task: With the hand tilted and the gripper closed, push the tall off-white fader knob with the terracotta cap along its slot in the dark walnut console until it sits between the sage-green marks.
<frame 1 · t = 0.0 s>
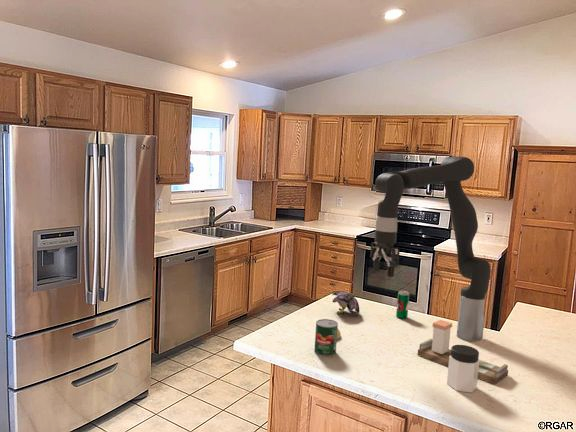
hand: (382, 273, 162), 29 cm above the counter, tool pointing down, fingers open, 8 cm apart
bread roll: (329, 337, 177), on the counter
soda can: (401, 317, 204), on the counter
fader console: (460, 364, 157), on the counter
decorative flower: (345, 314, 205), on the counter
fader knob: (441, 336, 162), point 8 cm above the counter, slide at 2.0 cm
canned tomato: (325, 352, 162), on the counter
jar: (461, 386, 141), on the counter
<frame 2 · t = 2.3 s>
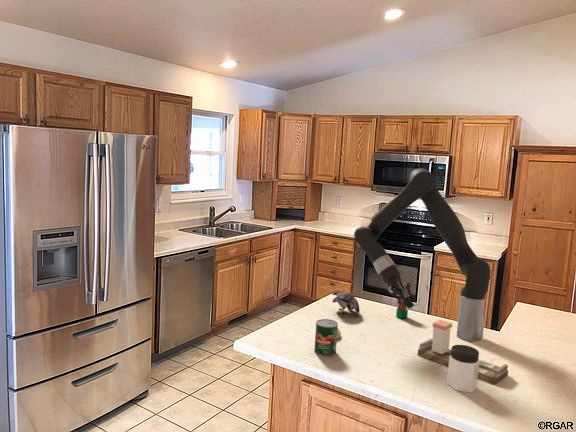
hand: (411, 307, 170), 15 cm above the counter, tool tilted 45°, fingers closed
nothing on the counter moved.
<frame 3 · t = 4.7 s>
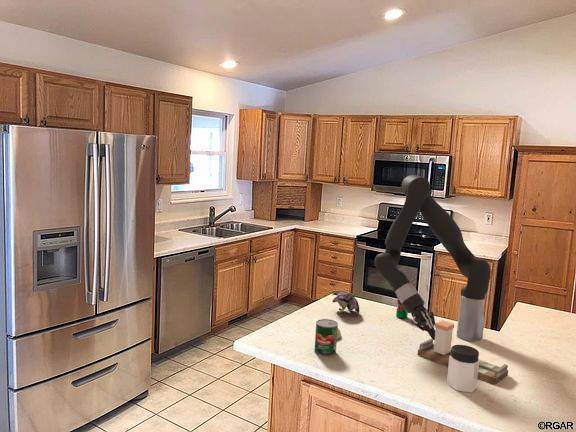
hand: (436, 338, 163), 6 cm above the counter, tool tilted 45°, fingers closed
fader knob: (443, 337, 161), point 8 cm above the counter, slide at 2.8 cm, touching gripper
everything else where it was.
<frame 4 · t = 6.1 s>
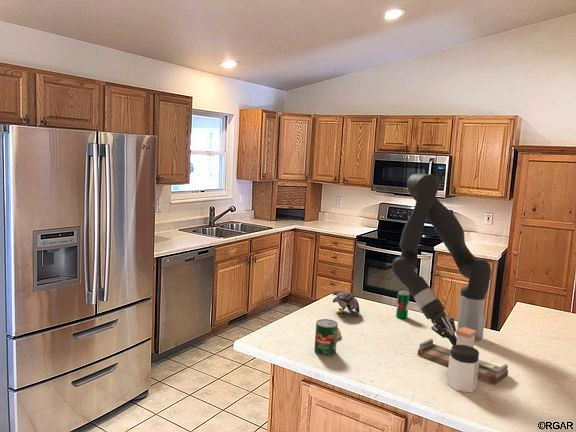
hand: (457, 345, 157), 6 cm above the counter, tool tilted 45°, fingers closed
fader knob: (465, 344, 155), point 8 cm above the counter, slide at 10.9 cm, touching gripper
everything else where it was.
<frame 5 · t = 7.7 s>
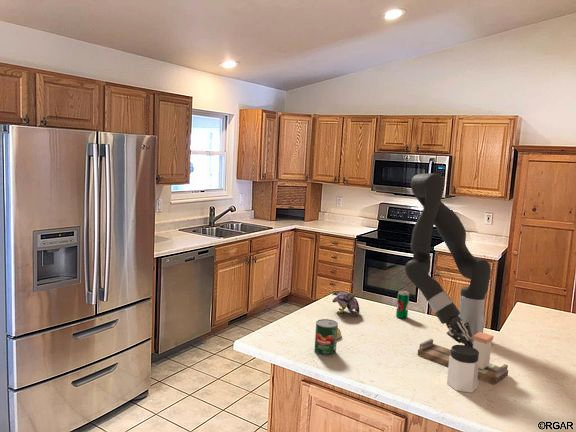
hand: (473, 351, 153), 6 cm above the counter, tool tilted 45°, fingers closed
fader knob: (481, 350, 151), point 8 cm above the counter, slide at 16.6 cm, touching gripper
everything else where it was.
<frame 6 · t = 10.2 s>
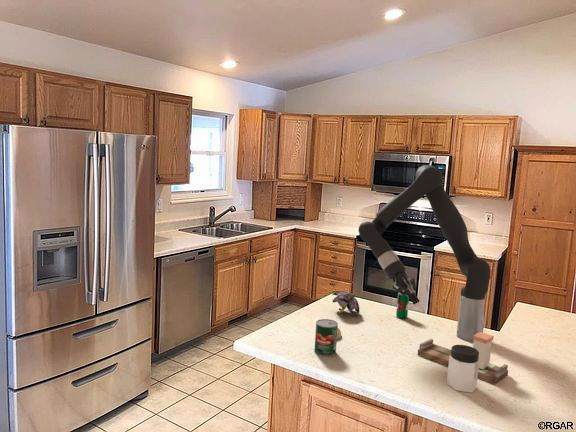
hand: (416, 303, 168), 17 cm above the counter, tool tilted 45°, fingers closed
fader knob: (481, 350, 151), point 8 cm above the counter, slide at 16.7 cm
everything else where it was.
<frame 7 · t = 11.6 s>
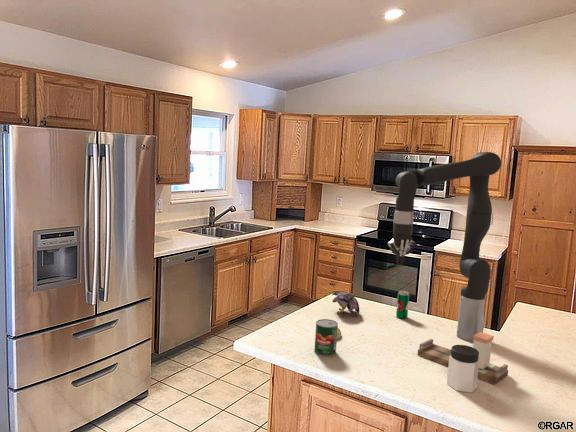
hand: (400, 264, 179), 29 cm above the counter, tool pointing down, fingers closed
nothing on the counter moved.
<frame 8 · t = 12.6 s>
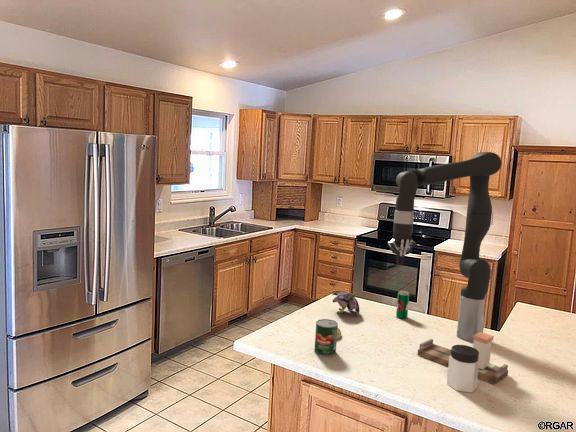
hand: (400, 264, 179), 29 cm above the counter, tool pointing down, fingers closed
nothing on the counter moved.
at the end: fader knob slide at 16.7 cm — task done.
